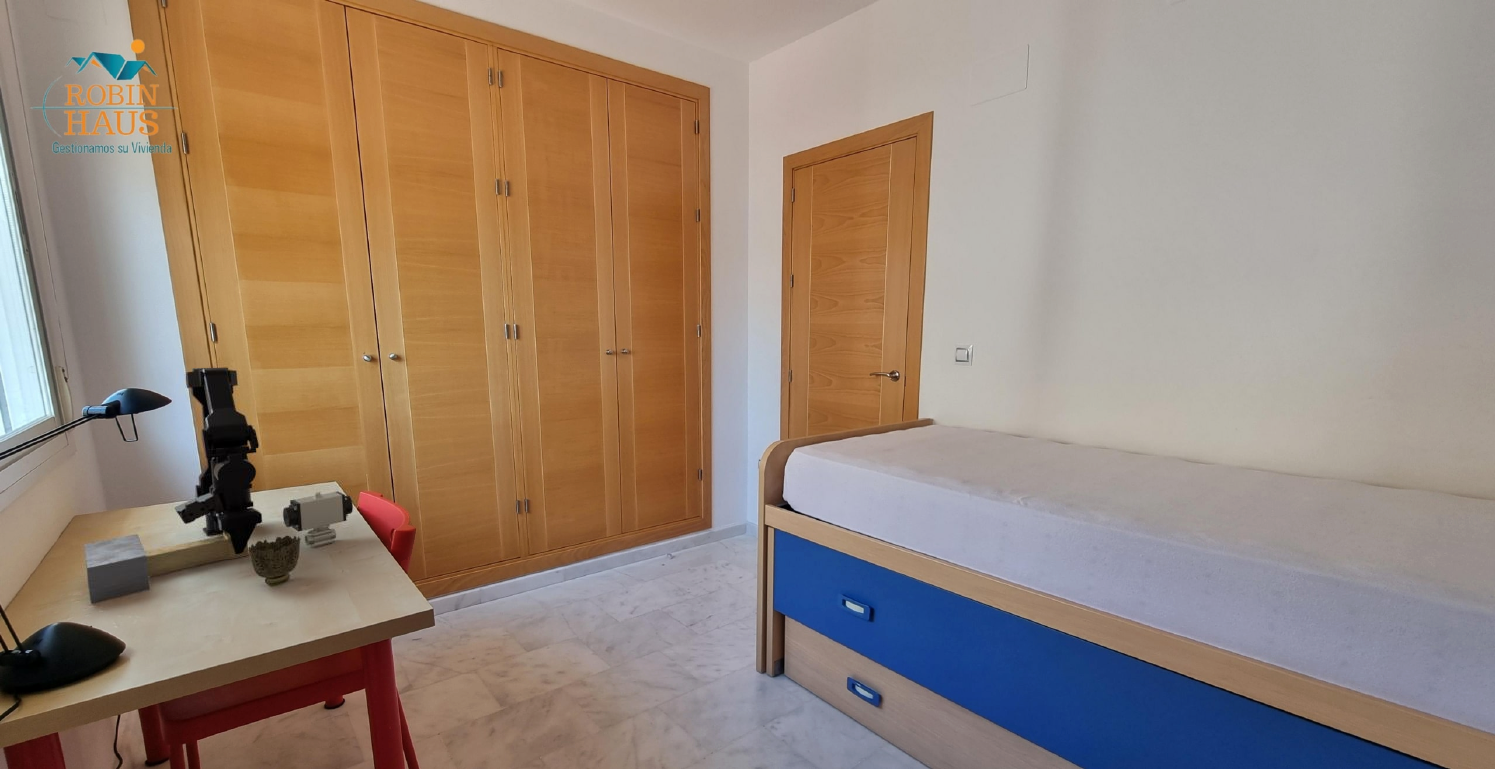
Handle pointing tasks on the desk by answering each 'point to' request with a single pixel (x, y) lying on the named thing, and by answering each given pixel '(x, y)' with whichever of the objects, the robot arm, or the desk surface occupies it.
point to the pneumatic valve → (318, 516)
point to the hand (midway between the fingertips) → (236, 550)
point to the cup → (275, 559)
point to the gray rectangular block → (116, 568)
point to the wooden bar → (191, 554)
